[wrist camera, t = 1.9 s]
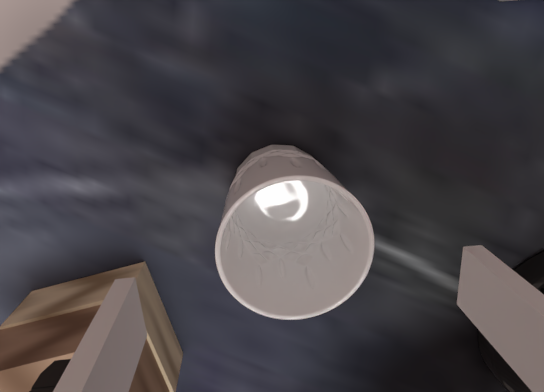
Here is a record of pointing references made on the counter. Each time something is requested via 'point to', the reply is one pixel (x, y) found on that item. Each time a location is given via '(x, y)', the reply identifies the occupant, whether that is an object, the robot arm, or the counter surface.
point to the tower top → (60, 352)
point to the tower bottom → (93, 294)
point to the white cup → (291, 236)
